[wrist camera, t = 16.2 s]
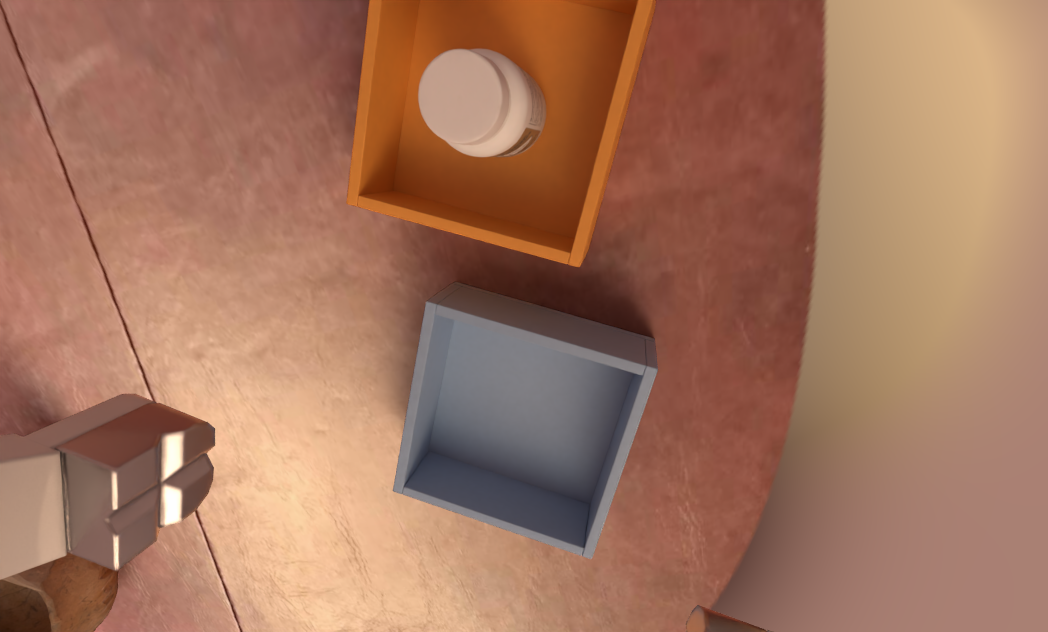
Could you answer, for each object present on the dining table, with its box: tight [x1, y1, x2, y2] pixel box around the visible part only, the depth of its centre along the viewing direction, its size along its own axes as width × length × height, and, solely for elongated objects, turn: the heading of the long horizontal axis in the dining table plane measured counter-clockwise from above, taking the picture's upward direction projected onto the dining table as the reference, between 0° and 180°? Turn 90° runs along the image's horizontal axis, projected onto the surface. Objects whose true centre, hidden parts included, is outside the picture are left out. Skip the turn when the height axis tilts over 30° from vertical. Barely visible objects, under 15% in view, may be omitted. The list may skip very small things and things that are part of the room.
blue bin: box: [393, 282, 658, 559], centre depth 30 cm, size 12×12×5 cm
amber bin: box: [346, 0, 656, 267], centre depth 26 cm, size 12×12×5 cm
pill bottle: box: [418, 49, 546, 157], centre depth 24 cm, size 4×4×8 cm
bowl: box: [0, 552, 118, 632], centre depth 41 cm, size 18×14×10 cm
